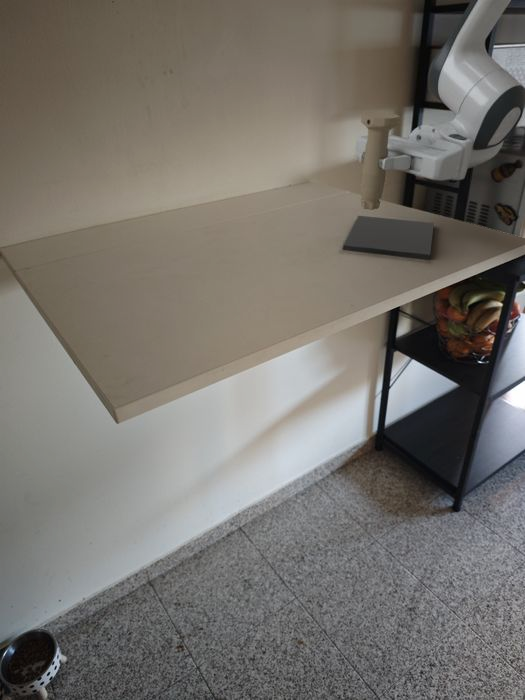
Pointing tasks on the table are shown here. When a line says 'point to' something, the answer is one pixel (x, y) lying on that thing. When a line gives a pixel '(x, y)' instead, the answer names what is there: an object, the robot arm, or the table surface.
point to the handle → (375, 156)
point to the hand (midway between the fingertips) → (371, 161)
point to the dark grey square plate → (390, 237)
